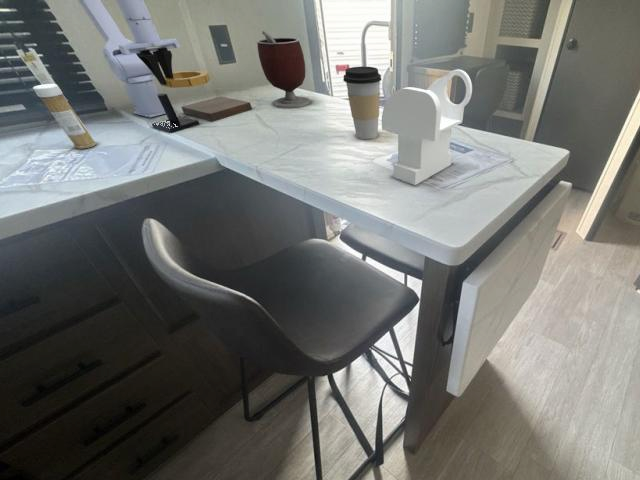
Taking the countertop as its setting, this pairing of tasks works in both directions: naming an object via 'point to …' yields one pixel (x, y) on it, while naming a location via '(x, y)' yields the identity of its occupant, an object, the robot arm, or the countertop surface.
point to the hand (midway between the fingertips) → (167, 83)
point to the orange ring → (187, 79)
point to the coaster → (216, 108)
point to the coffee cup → (364, 99)
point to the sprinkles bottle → (64, 115)
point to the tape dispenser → (424, 127)
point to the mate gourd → (283, 67)
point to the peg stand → (173, 117)
